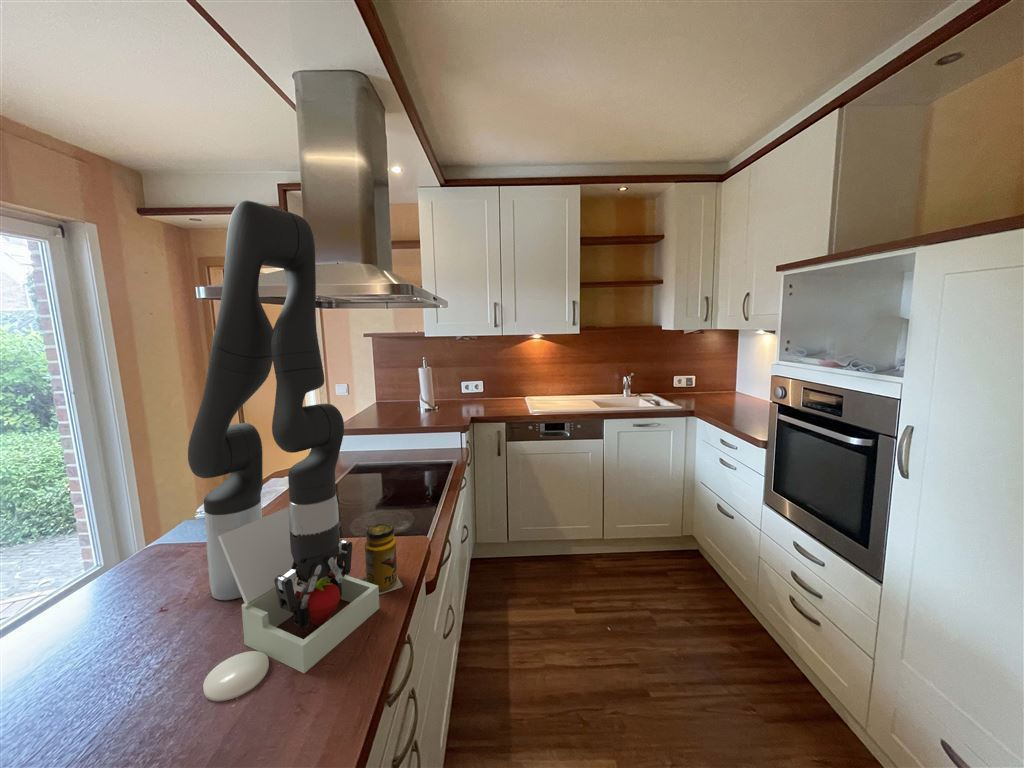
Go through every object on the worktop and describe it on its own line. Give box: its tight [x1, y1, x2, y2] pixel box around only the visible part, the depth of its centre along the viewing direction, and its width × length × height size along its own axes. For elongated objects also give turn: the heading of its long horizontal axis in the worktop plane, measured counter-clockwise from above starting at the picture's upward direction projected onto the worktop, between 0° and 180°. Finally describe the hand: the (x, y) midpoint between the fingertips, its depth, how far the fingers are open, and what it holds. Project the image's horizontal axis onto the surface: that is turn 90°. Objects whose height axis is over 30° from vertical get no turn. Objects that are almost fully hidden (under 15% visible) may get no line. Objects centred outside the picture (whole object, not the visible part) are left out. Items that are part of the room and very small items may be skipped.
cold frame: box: [218, 506, 380, 674], centre depth 70 cm, size 20×16×18 cm
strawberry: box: [299, 578, 340, 627], centre depth 69 cm, size 6×8×10 cm
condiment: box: [358, 523, 404, 595], centre depth 81 cm, size 7×8×12 cm
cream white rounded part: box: [202, 650, 270, 702], centre depth 59 cm, size 8×8×1 cm
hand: (319, 613), depth 69 cm, fingers closed on strawberry, 6 cm apart
